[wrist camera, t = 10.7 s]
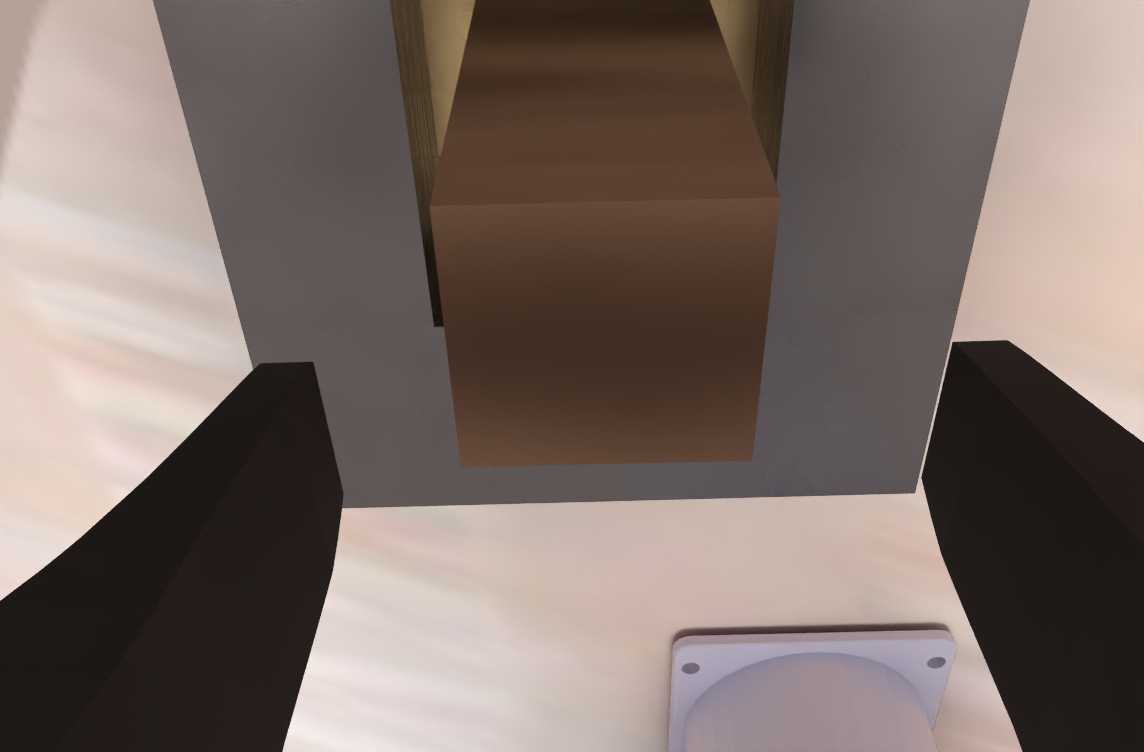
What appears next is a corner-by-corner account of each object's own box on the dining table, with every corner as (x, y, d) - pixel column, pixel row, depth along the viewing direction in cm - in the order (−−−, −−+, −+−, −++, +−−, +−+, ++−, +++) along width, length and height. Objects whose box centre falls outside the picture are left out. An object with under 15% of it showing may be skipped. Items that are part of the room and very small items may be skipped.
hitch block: (874, 389, 24) (915, 493, 21) (323, 405, 24) (291, 509, 22) (1023, -417, 15) (1127, -421, 12) (144, -383, 15) (50, -379, 12)
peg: (694, 192, 20) (752, 460, 14) (493, 197, 21) (460, 467, 14) (704, -15, 18) (781, 197, 12) (477, -8, 18) (429, 205, 12)
